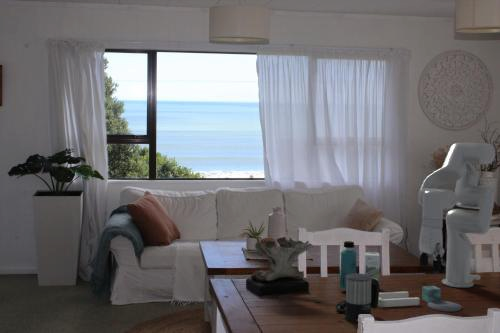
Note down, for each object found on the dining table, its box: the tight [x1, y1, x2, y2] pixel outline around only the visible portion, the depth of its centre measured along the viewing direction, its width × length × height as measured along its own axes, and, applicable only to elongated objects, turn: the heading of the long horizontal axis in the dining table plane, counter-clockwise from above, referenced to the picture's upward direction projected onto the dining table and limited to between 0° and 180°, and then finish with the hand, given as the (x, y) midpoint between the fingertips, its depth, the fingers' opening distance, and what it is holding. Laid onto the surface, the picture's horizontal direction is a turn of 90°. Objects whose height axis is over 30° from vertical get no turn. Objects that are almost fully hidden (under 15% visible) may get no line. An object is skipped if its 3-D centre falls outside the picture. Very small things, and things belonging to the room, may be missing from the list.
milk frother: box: [335, 273, 380, 323], centre depth 227 cm, size 14×16×15 cm
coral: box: [245, 236, 314, 297], centre depth 257 cm, size 25×20×22 cm
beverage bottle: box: [338, 240, 358, 290], centre depth 258 cm, size 6×7×20 cm
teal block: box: [421, 285, 442, 304], centre depth 247 cm, size 5×5×5 cm
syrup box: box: [363, 251, 381, 283], centre depth 263 cm, size 6×6×14 cm
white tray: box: [378, 291, 421, 308], centre depth 244 cm, size 16×10×2 cm, turn 104°
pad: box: [427, 300, 462, 313], centre depth 239 cm, size 12×12×1 cm
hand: (430, 268), depth 246 cm, fingers open, 9 cm apart
